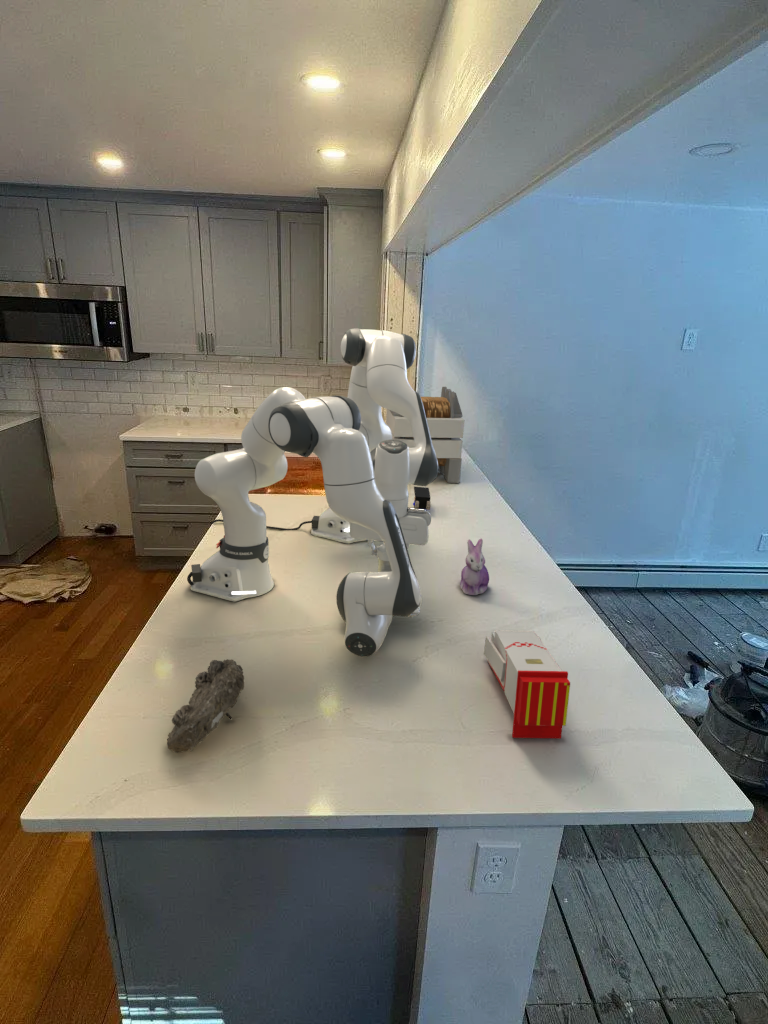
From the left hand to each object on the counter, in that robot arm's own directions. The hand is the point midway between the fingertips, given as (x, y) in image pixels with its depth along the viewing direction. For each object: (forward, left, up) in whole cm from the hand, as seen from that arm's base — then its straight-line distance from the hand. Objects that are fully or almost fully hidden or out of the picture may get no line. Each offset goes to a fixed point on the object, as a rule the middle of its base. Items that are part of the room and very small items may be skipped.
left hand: (387, 585), depth 151 cm
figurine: (+23, +15, -6) cm, 28 cm away
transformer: (-10, +131, -6) cm, 131 cm away
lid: (0, -1, +11) cm, 11 cm away
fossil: (-23, -52, -6) cm, 57 cm away
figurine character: (-2, +78, -6) cm, 79 cm away
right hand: (0, -1, +9) cm, 9 cm away
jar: (0, -1, -6) cm, 6 cm away
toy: (+34, -30, -6) cm, 46 cm away
